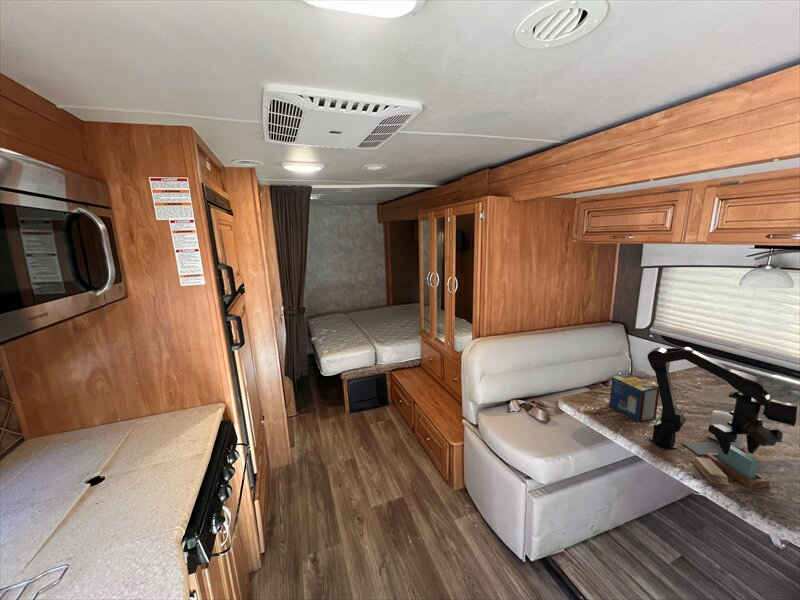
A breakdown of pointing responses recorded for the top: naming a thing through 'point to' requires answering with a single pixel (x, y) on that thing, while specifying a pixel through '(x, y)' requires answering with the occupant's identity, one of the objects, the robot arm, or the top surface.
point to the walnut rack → (756, 482)
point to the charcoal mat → (702, 447)
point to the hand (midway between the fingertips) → (737, 453)
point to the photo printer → (723, 419)
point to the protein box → (634, 397)
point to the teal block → (739, 462)
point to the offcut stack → (710, 470)
